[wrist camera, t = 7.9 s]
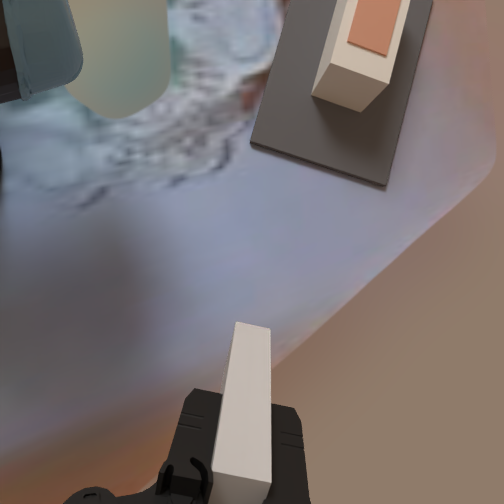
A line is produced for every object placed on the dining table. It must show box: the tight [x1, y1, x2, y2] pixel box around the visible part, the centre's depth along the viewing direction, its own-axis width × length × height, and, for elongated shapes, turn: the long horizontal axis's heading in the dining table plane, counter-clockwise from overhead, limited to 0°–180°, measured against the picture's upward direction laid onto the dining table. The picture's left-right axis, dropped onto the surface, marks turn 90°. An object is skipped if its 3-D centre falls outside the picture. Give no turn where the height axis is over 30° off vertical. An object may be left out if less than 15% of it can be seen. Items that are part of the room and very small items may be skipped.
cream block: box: [311, 0, 410, 113], centre depth 35 cm, size 6×6×14 cm
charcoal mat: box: [250, 0, 433, 186], centre depth 39 cm, size 24×16×1 cm, turn 164°
